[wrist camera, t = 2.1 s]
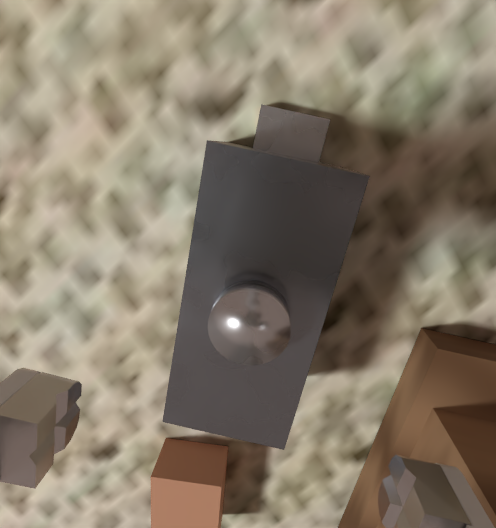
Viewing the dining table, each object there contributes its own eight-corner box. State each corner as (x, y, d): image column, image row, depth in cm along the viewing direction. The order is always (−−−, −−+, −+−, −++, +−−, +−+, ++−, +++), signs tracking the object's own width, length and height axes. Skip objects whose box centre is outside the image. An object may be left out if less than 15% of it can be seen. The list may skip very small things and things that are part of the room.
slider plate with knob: (235, 100, 16) (210, 75, 10) (355, 126, 16) (397, 116, 10) (185, 383, 21) (150, 471, 15) (275, 403, 21) (274, 499, 15)
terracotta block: (166, 435, 23) (150, 476, 20) (228, 443, 22) (221, 486, 20) (166, 502, 25) (151, 549, 22) (222, 511, 24) (215, 559, 22)
